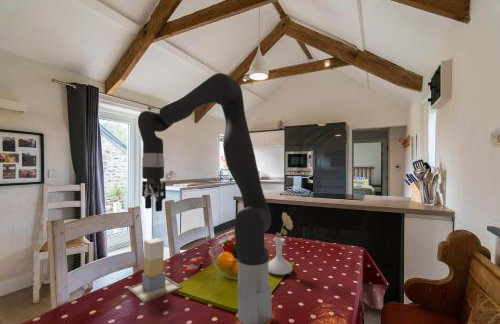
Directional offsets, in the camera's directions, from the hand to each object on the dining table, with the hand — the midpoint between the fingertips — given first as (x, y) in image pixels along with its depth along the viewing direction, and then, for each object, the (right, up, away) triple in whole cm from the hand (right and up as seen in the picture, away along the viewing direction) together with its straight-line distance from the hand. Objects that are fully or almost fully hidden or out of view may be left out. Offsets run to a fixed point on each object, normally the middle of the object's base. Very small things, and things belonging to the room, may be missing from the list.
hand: (153, 209), depth 93 cm
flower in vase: (+49, -30, +15) cm, 59 cm away
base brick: (0, -28, 0) cm, 28 cm away
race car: (+11, -30, +18) cm, 37 cm away
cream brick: (0, -17, 0) cm, 17 cm away
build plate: (+1, -29, -1) cm, 29 cm away
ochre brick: (0, -23, 0) cm, 23 cm away
